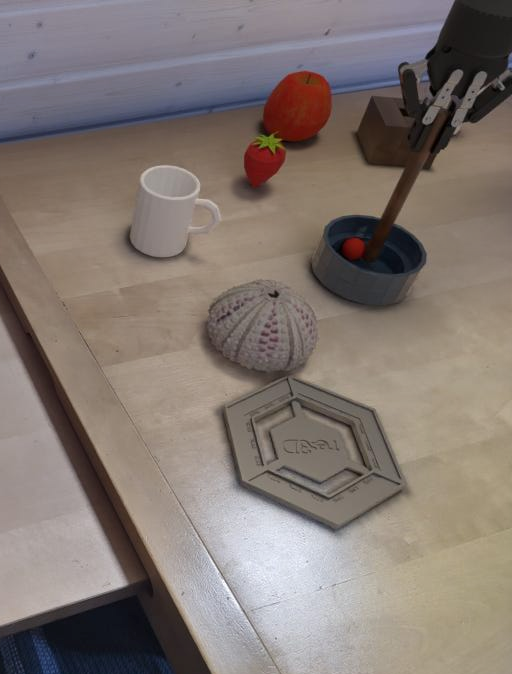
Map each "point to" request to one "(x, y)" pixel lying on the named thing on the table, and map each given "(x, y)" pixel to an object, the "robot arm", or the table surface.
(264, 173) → the strawberry
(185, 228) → the mug
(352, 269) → the bowl
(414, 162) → the stirring stick
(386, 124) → the holder
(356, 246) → the ball
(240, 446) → the grey hexagonal plate
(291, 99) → the apple
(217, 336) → the sea urchin shell
